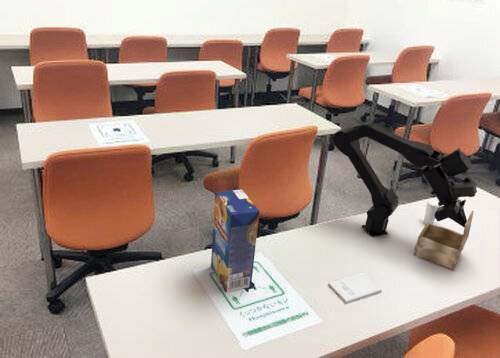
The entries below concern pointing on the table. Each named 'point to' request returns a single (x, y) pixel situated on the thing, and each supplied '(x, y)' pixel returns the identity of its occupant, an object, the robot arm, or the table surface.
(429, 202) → the milkshake
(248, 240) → the juice carton
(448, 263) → the carton
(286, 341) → the table surface
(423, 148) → the robot arm
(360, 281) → the external hard drive
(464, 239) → the flap
